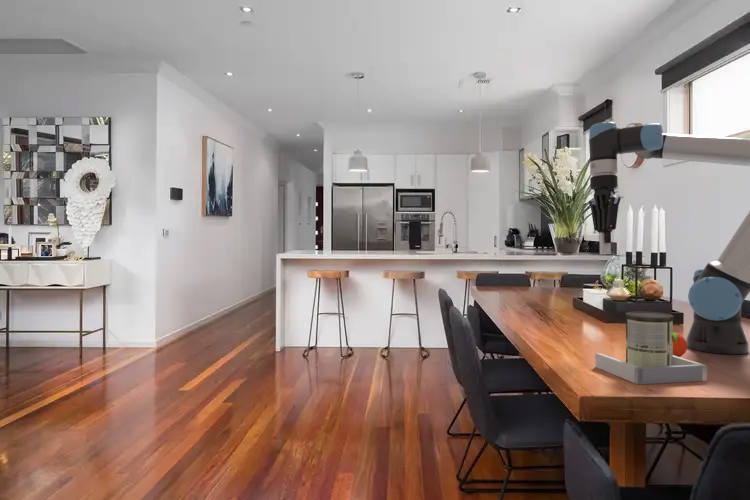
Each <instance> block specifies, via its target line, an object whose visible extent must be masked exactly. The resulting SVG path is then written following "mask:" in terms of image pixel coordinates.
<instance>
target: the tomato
mask: <svg viewBox="0 0 750 500" xmlns="http://www.w3.org/2000/svg"><path fill="white" fill-rule="evenodd" d="M687 350H688V347H687V342H686V339H685V337H684V336H683V335H681V334H680V333H678V332H674V331H673V355H674V356H678V357H681V358H682V356H683V355H685V354H686V352H687Z"/></svg>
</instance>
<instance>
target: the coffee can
mask: <svg viewBox="0 0 750 500" xmlns="http://www.w3.org/2000/svg"><path fill="white" fill-rule="evenodd" d="M673 322H674V315H673V314H671V313H665V312H658V311H645V310H644V311H638V310H636V311H628V312H626V313H625V362H626V363H629V364H632V365H634V366H637V367H655V366H673V332H674V331H673V329H674V328H673V327H674V323H673Z"/></svg>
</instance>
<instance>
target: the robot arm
mask: <svg viewBox="0 0 750 500" xmlns="http://www.w3.org/2000/svg"><path fill="white" fill-rule="evenodd" d="M663 131H664V130H663V125H662V124H661V123H656V122H655V123H645V124H641V125H634V126H627V127H626V126H625V127H617V124H616V122H613V121H607V122H603V121H602V122H597V123H595V124H592V125H591V126H590V128H589V137H588V144H589V146H588V147H589V173H590V178H589V182H590V183H589V186H590V189H591V190H593V191H594V193H593V199H592V200H589V201H588V205H589V207H590V210H591V211H590V212H591V217H592V224H593V230H594V231H596V232H597V233H598V241H599V255H612V246H611V245H612V232H613V231H615V230H616V228H617V222H618V221H617V220H618V215H619V214H618V212H619V206H620V202H621V199H622V198H621V196H617V195H616V192H615V189H617V188H618V186H619V185H618V181H619V180H618V176H617V173H618V155H622V154H630V153H631V154H632V153H633V154H635V155H636V156H637V157H639V158H640V159H641V158H642V159H646V160H649V159H650V160H651V159H661V160H662V159H665V160H675V161H684V162H685V161H686V162H698V163H709V164H720V165H733V166H742V167H743V166H745V167H750V138H747V137H745V138H744V137H731V136H729V137H728V136H727V137H726V136H715V135H714V136H712V135H699V134H698V135H695V134H679V133H664V132H663ZM692 280H693V284H692V285H691V287H690V288H689V291H688V295H687V296H688V297H687V298H688V303H689V305H690V307H691V309H692V310H693V320H692V324H691V326H690V329H689V332H688V334H687V336H686V339H685V340H686V342H687V349H691V350H695V351H697V352H698V351H699V352H704V353H712V354H723V355H741V354H747V353H749V342H748V339H747V337H746V334H745V332H744V329H743V327H742V326H743V325H742V305H743V302H744V301H745V299H746V298H747V296H748V295H749V293H750V210H749V211H748V213H747V215H746V216H745V217H744V219H743V221H742V222H741V224H740V225H739V227H738V228H737V230H736V231H735V233H734V234H733V236H732V237H731V239H730V240H729V242H728V243H727V245H726V247H725V248H724V250H723V251H722V252H721V254H720V256H719V257H718V259H715V260H712V261H709V262H707V264H706V265H705V267H704V269H702V268H701V269H696V270H695V271H694V273H693V278H692Z"/></svg>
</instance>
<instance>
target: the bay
mask: <svg viewBox="0 0 750 500" xmlns="http://www.w3.org/2000/svg"><path fill="white" fill-rule="evenodd" d="M594 363H595V368H597V369H599V370H601V371H604V372H606V373H609V374H612V375H613V376H615V377H616V376H617V377H618V378H621V379H624V380H625V381H628V382H631V383H633V384H636V385H652V384H653V385H654V384H670V383H673V384H674V383H686V382H687V383H690V382H691V381H692V382H705V381H706V382H707V381H708V365H707V364H704V363H701V362H697V361H693V360H691V359H687V358H684V357H682V356H681V357H678V356H674V355H673V366H655V367H637V366H634V365H632V364H629V363H626V361H623V360H620V359H617V358H615V357H612V356H610V355H606V354H604V353H601V352H595V362H594Z"/></svg>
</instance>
